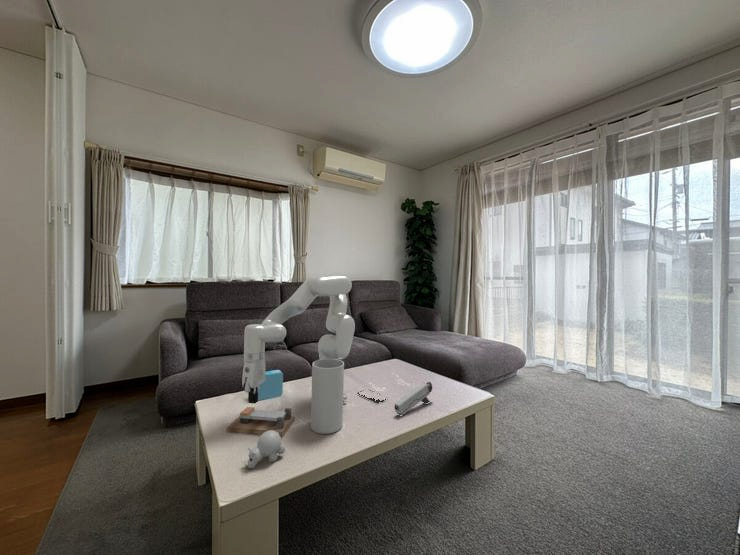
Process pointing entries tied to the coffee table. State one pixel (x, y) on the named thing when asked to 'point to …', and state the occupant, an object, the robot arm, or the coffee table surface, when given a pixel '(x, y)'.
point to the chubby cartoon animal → (266, 448)
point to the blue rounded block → (271, 385)
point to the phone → (371, 398)
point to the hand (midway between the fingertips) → (253, 402)
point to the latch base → (262, 425)
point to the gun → (414, 398)
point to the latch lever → (261, 414)
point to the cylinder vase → (327, 395)
